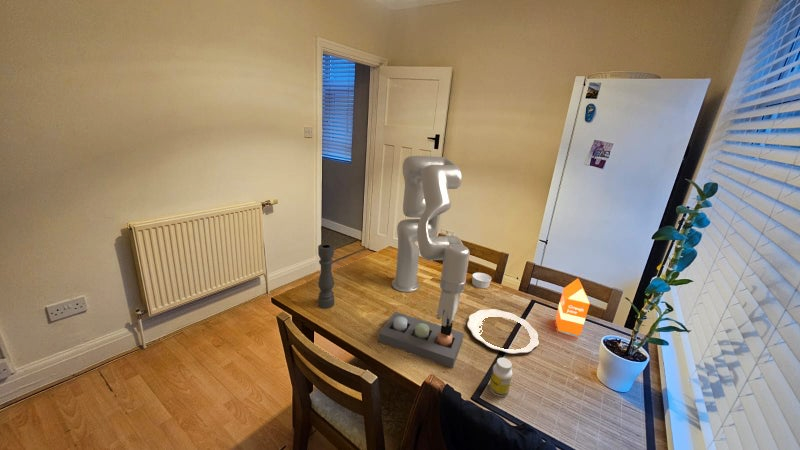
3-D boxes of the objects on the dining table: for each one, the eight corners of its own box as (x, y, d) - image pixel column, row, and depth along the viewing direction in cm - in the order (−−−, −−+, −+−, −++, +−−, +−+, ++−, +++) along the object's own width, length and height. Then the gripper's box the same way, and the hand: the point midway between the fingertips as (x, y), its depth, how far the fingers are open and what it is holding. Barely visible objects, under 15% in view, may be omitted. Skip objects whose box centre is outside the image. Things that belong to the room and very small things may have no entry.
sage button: (417, 328, 110) (418, 321, 109) (430, 333, 108) (431, 325, 107) (412, 336, 106) (413, 329, 105) (425, 341, 104) (426, 333, 103)
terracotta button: (439, 335, 107) (440, 328, 106) (452, 340, 106) (454, 332, 105) (435, 344, 103) (436, 336, 102) (449, 349, 101) (450, 341, 100)
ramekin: (475, 278, 155) (476, 270, 154) (492, 284, 151) (494, 276, 149) (467, 284, 149) (469, 276, 147) (485, 291, 144) (487, 283, 142)
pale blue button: (396, 322, 113) (397, 315, 112) (408, 326, 111) (409, 318, 110) (390, 329, 109) (391, 322, 108) (403, 333, 107) (404, 326, 106)
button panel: (394, 319, 119) (395, 311, 118) (462, 341, 110) (463, 332, 108) (377, 341, 106) (378, 333, 105) (452, 368, 97) (454, 359, 96)
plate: (535, 322, 124) (536, 318, 123) (540, 366, 101) (541, 361, 101) (471, 307, 131) (471, 303, 130) (462, 344, 108) (463, 340, 108)
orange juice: (556, 332, 118) (569, 285, 112) (554, 319, 126) (566, 275, 120) (579, 338, 116) (594, 290, 110) (576, 324, 124) (589, 279, 118)
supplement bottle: (486, 382, 93) (491, 355, 90) (503, 382, 93) (509, 355, 90) (492, 397, 88) (498, 369, 85) (511, 397, 88) (518, 369, 85)
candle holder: (330, 310, 121) (330, 250, 113) (315, 307, 122) (314, 248, 114) (336, 301, 127) (337, 244, 119) (322, 299, 128) (321, 242, 120)
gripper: (447, 271, 105) (440, 318, 111) (434, 291, 92) (427, 343, 98) (469, 276, 102) (461, 324, 108) (459, 298, 89) (451, 351, 95)
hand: (445, 333), depth 103 cm, fingers closed
